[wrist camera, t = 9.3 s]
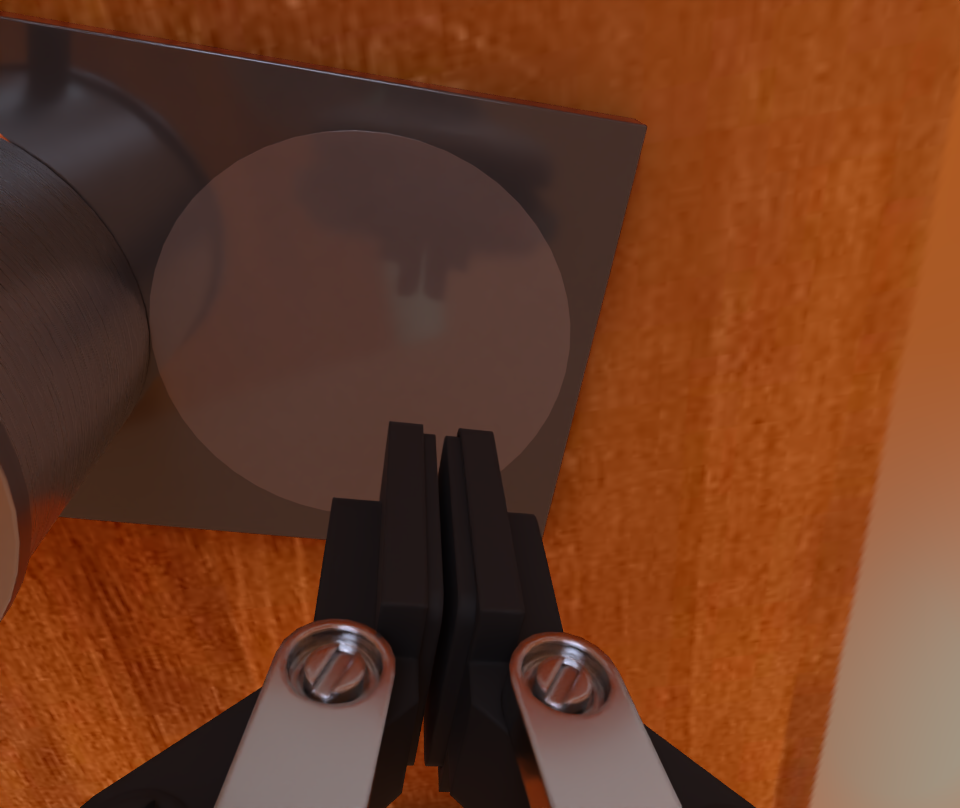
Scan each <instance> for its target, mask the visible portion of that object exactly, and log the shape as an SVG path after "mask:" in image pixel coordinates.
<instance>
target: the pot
mask: <svg viewBox="0 0 960 808" xmlns="http://www.w3.org/2000/svg"><path fill="white" fill-rule="evenodd" d="M148 360H149V330H148V324H147V318H146V311H145V307H144V303H143V300H142V297H141V294H140V290H139V287H138V284H137V281H136V279H135V277H134V275H133V273H132V270H131V268H130V266H129V264H128V262H127V259H126V258H125V256H124V254H123V253H122V251H121V249H120V248H119V246H118V244H117V243H116V241H115V239H114V238H113V236H112V234H111V233H110V232H109V230H108V229H107V228H106V227H105V225H104V224H103V223H102V221H101V220H100V219H99V217H98V216H97V215H96V214H95V212H94V211H93V210H92V209H91V208H90V207H89V206H88V205H87V204H86V202H85V201H84V200H83V199H82V198H81V197H80V196H79V195H78V194H77V193H76V192H75V191H74V190H73V189H72V188H71V187H70V186H69V185H68V184H66V183H65V182H64V181H63V180H62V179H61V178H59V177H58V176H57V175H56V174H55V173H54V172H52V171H51V170H50V169H49V168H48V167H47V166H45V165H44V164H42V163H41V162H39V161H38V160H36V159H35V158H33V157H32V156H31V155H29V154H28V153H26V152H25V151H23V150H22V149H20V148H19V147H17V146H15V145H13V144H12V143H10V142H8V141H6V140H4V139H3V138H1V137H0V622H1V620H2V619H3V617H4V616H5V614H6V613H7V612H8V610H9V609H10V607H11V606H12V603H13V601H14V599H15V597H16V595H17V593H18V591H19V589H20V587H21V585H22V583H23V580H24V576H25V573H26V569H27V565H28V561H29V558H30V557H31V555H32V554H33V553H34V551H35V550H36V548H37V547H38V545H39V544H40V543H41V541H42V540H43V538H44V537H45V535H46V534H47V533H48V531H49V530H50V528H51V527H52V525H53V524H54V523H55V521H56V520H57V518H58V517H59V515H60V514H61V513H62V511H63V510H64V508H65V507H66V506H67V504H68V503H69V501H70V500H71V498H72V497H73V496H74V494H75V493H76V491H77V490H78V488H79V487H80V486H81V484H82V483H83V481H84V480H85V478H86V477H87V476H88V474H89V473H90V471H91V470H92V468H93V467H94V466H95V464H96V463H97V461H98V460H99V458H100V457H101V456H102V454H103V453H104V451H105V450H106V448H107V447H108V446H109V444H110V443H111V441H112V440H113V439H114V437H115V436H116V434H117V433H118V431H119V430H120V429H121V427H122V426H123V424H124V423H125V421H126V420H127V419H128V417H129V416H130V414H131V413H132V411H133V409H134V407H135V405H136V403H137V401H138V399H139V397H140V394H141V391H142V388H143V385H144V381H145V378H146V374H147V367H148Z"/></svg>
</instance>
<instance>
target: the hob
mask: <svg viewBox="0 0 960 808" xmlns="http://www.w3.org/2000/svg"><path fill="white" fill-rule="evenodd" d="M646 130H647V126H646V125H645V124H643V123H641V122H640V121H638V120H636V119H633V118H627V117H621V116H615V115H609V114H604V113H598V112H592V111H586V110H580V109H574V108H568V107H562V106H557V105H551V104H545V103H539V102H533V101H527V100H521V99H516V98H510V97H504V96H498V95H492V94H486V93H480V92H474V91H469V90H463V89H457V88H451V87H445V86H439V85H433V84H427V83H422V82H416V81H410V80H404V79H398V78H392V77H386V76H381V75H375V74H369V73H363V72H357V71H351V70H345V69H339V68H334V67H328V66H322V65H316V64H310V63H304V62H298V61H292V60H287V59H281V58H275V57H269V56H263V55H257V54H251V53H246V52H240V51H234V50H228V49H222V48H216V47H210V46H204V45H199V44H193V43H187V42H181V41H175V40H169V39H163V38H157V37H152V36H146V35H140V34H134V33H128V32H122V31H116V30H111V29H105V28H99V27H93V26H87V25H81V24H75V23H69V22H64V21H58V20H52V19H46V18H40V17H34V16H28V15H22V14H17V13H11V12H5V11H0V137H1V138H3V139H4V140H6V141H8V142H10V143H12V144H13V145H15V146H17V147H19V148H20V149H22V150H23V151H25V152H26V153H28V154H29V155H31V156H32V157H33V158H35V159H36V160H38V161H39V162H41V163H42V164H44V165H45V166H47V167H48V168H49V169H50V170H51V171H52V172H54V173H55V174H56V175H57V176H58V177H59V178H61V179H62V180H63V181H64V182H65V183H66V184H68V185H69V186H70V187H71V188H72V189H73V190H74V191H75V192H76V193H77V194H78V195H79V196H80V197H81V198H82V199H83V200H84V201H85V202H86V204H87V205H88V206H89V207H90V208H91V209H92V210H93V211H94V212H95V214H96V215H97V216H98V217H99V219H100V220H101V221H102V223H103V224H104V225H105V227H106V228H107V229H108V230H109V232H110V233H111V234H112V236H113V238H114V239H115V241H116V243H117V244H118V246H119V248H120V249H121V251H122V253H123V254H124V256H125V258H126V259H127V262H128V264H129V266H130V268H131V270H132V273H133V275H134V277H135V279H136V281H137V284H138V287H139V290H140V294H141V297H142V300H143V303H144V307H145V311H146V318H147V324H148V330H149V360H148V367H147V374H146V378H145V381H144V385H143V388H142V391H141V394H140V397H139V399H138V401H137V403H136V405H135V407H134V409H133V411H132V413H131V414H130V416H129V417H128V419H127V420H126V421H125V423H124V424H123V426H122V427H121V429H120V430H119V431H118V433H117V434H116V436H115V437H114V439H113V440H112V441H111V443H110V444H109V446H108V447H107V448H106V450H105V451H104V453H103V454H102V456H101V457H100V458H99V460H98V461H97V463H96V464H95V466H94V467H93V468H92V470H91V471H90V473H89V474H88V476H87V477H86V478H85V480H84V481H83V483H82V484H81V486H80V487H79V488H78V490H77V491H76V493H75V494H74V496H73V497H72V498H71V500H70V501H69V503H68V504H67V506H66V507H65V508H64V510H63V511H62V513H61V514H60V515H59V517H66V518H77V519H89V520H101V521H112V522H124V523H136V524H147V525H159V526H171V527H182V528H194V529H206V530H217V531H229V532H241V533H252V534H264V535H276V536H287V537H299V538H311V539H322V540H326V538H327V531H328V524H329V518H330V511H331V505H332V499H333V497H335V498H347V499H359V500H370V501H379V498H380V490H381V482H382V474H383V466H384V458H385V450H386V442H387V434H388V426H389V421H394V422H404V423H414V424H423V430H424V433H425V434H435V435H436V452H437V471H438V472H439V466H440V460H441V454H442V448H443V442H444V438H445V436H455V437H456V436H457V432H458V429H459V428H464V429H474V430H484V431H492V432H493V434H494V438H495V444H496V450H497V455H498V461H499V466H500V472H501V478H502V483H503V489H504V495H505V500H506V506H507V512H513V513H525V514H534V515H535V516H536V518H537V521H538V524H539V529H540V533H541V537H542V538H543V534H544V530H545V526H546V522H547V518H548V514H549V510H550V506H551V502H552V499H553V495H554V491H555V487H556V483H557V479H558V475H559V471H560V467H561V463H562V459H563V455H564V452H565V448H566V444H567V440H568V436H569V432H570V428H571V424H572V420H573V416H574V412H575V408H576V405H577V401H578V397H579V393H580V389H581V385H582V381H583V377H584V373H585V369H586V365H587V361H588V358H589V354H590V350H591V346H592V342H593V338H594V334H595V330H596V326H597V322H598V318H599V314H600V311H601V307H602V303H603V299H604V295H605V291H606V287H607V283H608V279H609V275H610V271H611V267H612V264H613V260H614V256H615V252H616V248H617V244H618V240H619V236H620V232H621V228H622V224H623V220H624V217H625V213H626V209H627V205H628V201H629V197H630V193H631V189H632V185H633V181H634V177H635V173H636V170H637V166H638V162H639V158H640V154H641V150H642V146H643V142H644V138H645V134H646Z"/></svg>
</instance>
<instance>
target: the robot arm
mask: <svg viewBox="0 0 960 808" xmlns="http://www.w3.org/2000/svg"><path fill="white" fill-rule="evenodd" d="M423 716H424V761H425V766H438V777H439V792H450V795H451V796H452V797H453V798H454V799H455V800H456V801H457V802H458V803H460V804H461V805H462V806H463V807H464V808H755V807H754V806H753V805H751V804H750V803H749V802H747V801H746V800H745V799H743V798H742V797H741V796H739V795H738V794H737V793H735V792H734V791H733V790H731V789H730V788H729V787H727V786H726V785H725V784H723V783H722V782H721V781H719V780H718V779H717V778H715V777H714V776H713V775H711V774H710V773H709V772H707V771H706V770H705V769H703V768H702V767H701V766H699V765H698V764H697V763H695V762H694V761H692V760H691V759H690V758H688V757H687V756H686V755H684V754H683V753H682V752H680V751H679V750H678V749H676V748H675V747H674V746H672V745H671V744H670V743H668V742H667V741H666V740H664V739H663V738H662V737H660V736H659V735H658V734H656V733H655V732H654V731H652V730H651V729H650V728H648V727H647V726H646V725H644V724H643V723H642V720H641V718H640V716H639V714H638V712H637V710H636V708H635V706H634V703H633V701H632V699H631V697H630V695H629V693H628V691H627V688H626V686H625V684H624V682H623V680H622V678H621V676H620V674H619V671H618V670H617V668H616V667H615V665H614V664H613V662H612V661H611V659H610V658H609V657H608V656H607V655H606V654H605V653H604V652H603V651H602V650H600V649H599V648H598V647H597V646H596V645H594V644H592V643H590V642H588V641H587V640H585V639H583V638H581V637H578V636H575V635H571V634H568V633H564V632H563V629H562V624H561V620H560V616H559V611H558V607H557V603H556V598H555V594H554V590H553V585H552V581H551V577H550V572H549V568H548V564H547V559H546V555H545V551H544V546H543V542H542V537H541V533H540V529H539V524H538V521H537V518H536V516H535V515H534V514H525V513H513V512H507V506H506V500H505V495H504V489H503V483H502V478H501V472H500V466H499V461H498V455H497V450H496V444H495V438H494V434H493V432H492V431H484V430H474V429H464V428H459V429H458V432H457V436H456V437H455V436H445V438H444V442H443V448H442V454H441V460H440V466H439V472H438V471H437V452H436V435H435V434H425V433H424V430H423V424H414V423H404V422H394V421H389V426H388V434H387V442H386V450H385V458H384V466H383V474H382V482H381V490H380V498H379V501H370V500H359V499H347V498H335V497H333V499H332V505H331V511H330V518H329V524H328V531H327V538H326V544H325V551H324V557H323V564H322V571H321V577H320V584H319V590H318V597H317V604H316V610H315V617H314V622H311V623H309V624H307V625H305V626H303V627H300V628H298V629H296V630H295V631H294V632H293V633H292V634H290V635H289V636H288V637H287V638H286V639H284V641H283V642H282V644H281V646H280V647H279V649H278V650H277V652H276V654H275V656H274V659H273V661H272V664H271V666H270V669H269V671H268V674H267V676H266V679H265V681H264V684H263V686H262V687H261V688H260V689H258V690H257V691H255V692H254V693H252V694H250V695H249V696H247V697H246V698H244V699H243V700H241V701H240V702H238V703H237V704H235V705H234V706H232V707H230V708H229V709H227V710H226V711H224V712H223V713H221V714H220V715H218V716H217V717H215V718H213V719H212V720H210V721H209V722H207V723H206V724H204V725H203V726H201V727H200V728H198V729H197V730H195V731H193V732H192V733H190V734H189V735H187V736H186V737H184V738H183V739H181V740H180V741H178V742H176V743H175V744H173V745H172V746H170V747H169V748H167V749H166V750H164V751H163V752H161V753H160V754H158V755H156V756H155V757H153V758H152V759H150V760H149V761H147V762H146V763H144V764H143V765H141V766H139V767H138V768H136V769H135V770H133V771H132V772H130V773H129V774H127V775H126V776H124V777H123V778H121V779H119V780H118V781H116V782H115V783H113V784H112V785H110V786H109V787H107V788H106V789H104V790H102V791H101V792H99V793H98V794H96V795H95V796H93V797H92V798H91V799H90V800H89V801H87V802H86V803H85V804H84V805H83V806H81V807H80V808H386V807H387V806H388V805H389V804H390V803H391V802H393V801H394V800H395V799H396V798H397V797H398V796H399V795H400V794H401V793H402V788H403V783H404V778H405V772H406V767H407V765H409V766H413V765H414V762H415V757H416V752H417V747H418V741H419V736H420V731H421V726H422V721H423Z"/></svg>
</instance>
